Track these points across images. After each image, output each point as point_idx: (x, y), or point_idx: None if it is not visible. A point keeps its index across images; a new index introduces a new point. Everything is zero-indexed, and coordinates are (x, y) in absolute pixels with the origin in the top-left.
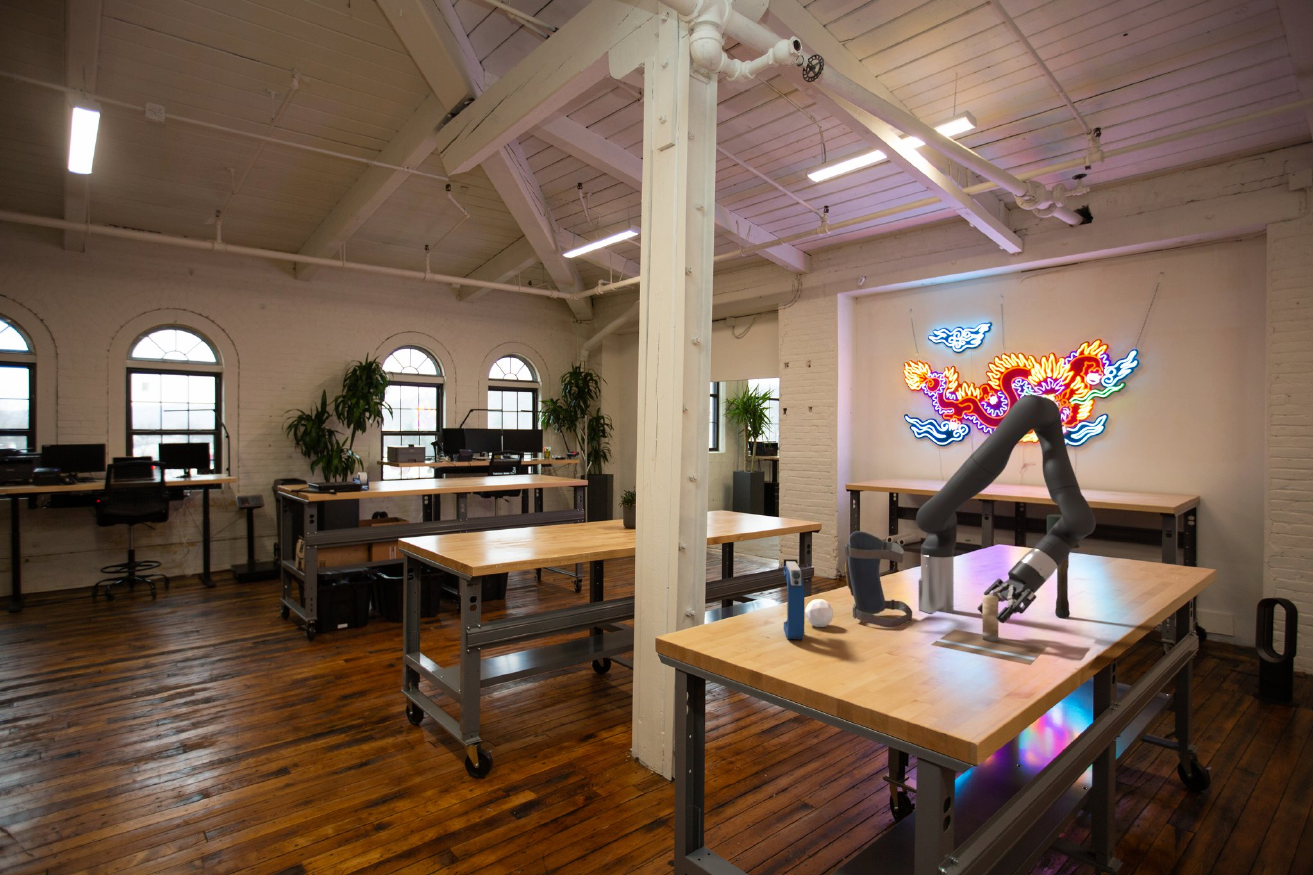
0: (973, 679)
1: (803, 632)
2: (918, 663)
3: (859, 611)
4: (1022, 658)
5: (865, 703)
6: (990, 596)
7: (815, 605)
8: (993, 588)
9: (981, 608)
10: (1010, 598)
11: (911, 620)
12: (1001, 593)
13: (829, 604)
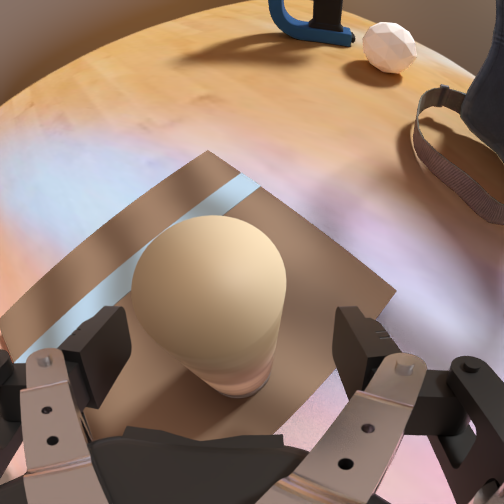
0: (30, 182)
1: (274, 22)
2: (134, 122)
3: (429, 90)
4: (32, 340)
5: (55, 73)
6: (223, 289)
7: (375, 24)
8: (486, 436)
9: (341, 325)
10: (35, 387)
11: (479, 213)
12: (267, 451)
13: (393, 36)
